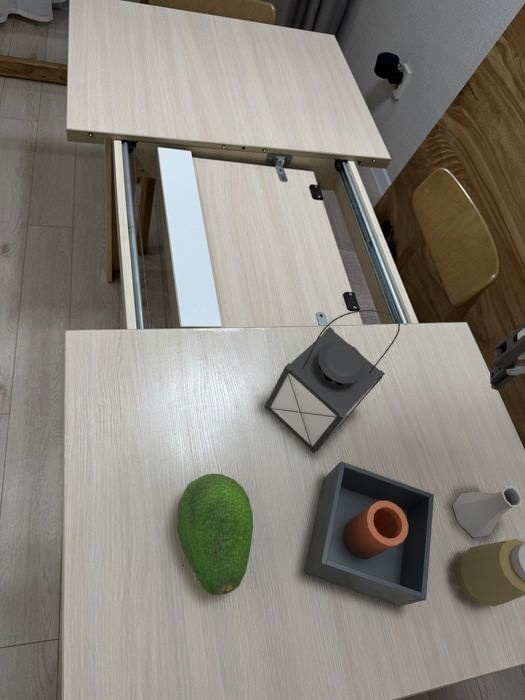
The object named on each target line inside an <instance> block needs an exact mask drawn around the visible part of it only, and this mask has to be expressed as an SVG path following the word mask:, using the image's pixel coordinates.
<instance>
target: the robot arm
mask: <svg viewBox="0 0 525 700" xmlns="http://www.w3.org/2000/svg"><path fill="white" fill-rule="evenodd" d="M522 360H525V321H524V322H523V323H522V324H521V325H519V326H518V327H517V328H516V329H514V330H513V331H511V332H510V333H509V334H508V335H507V336H506V337H504V338H503V339H502V340H500V341H499V342H498V343H497V344H496V345H494V366H495V367H494V368H493V369H492V370H490V373H489V384H490V388H491V389H492V390H495V391H500V390H501V389H502V388H504V387H505V386H506V385H507V384H509V383H510V382H511V381H513V380H514V379H515V378H516V376H517V375H523V374H524V375H525V362H524V363H523V362H522V363H519V361H522Z"/></svg>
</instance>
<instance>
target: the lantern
mask: <svg viewBox="0 0 525 700" xmlns="http://www.w3.org/2000/svg"><path fill="white" fill-rule="evenodd" d="M363 312H375V313H381V314H386V315H389V316H391V317H392V318H394V320H396V323H397V331H396V334H395V335H394V338H393V339H392V341H391V343H389V345H388V347H387V348H386V350H385V351H384V352H383V354H382V355H381V356H380V357H379V359H378V360H377V362H375V364H373V363H372V362H371V361H370V360H368V359H367V358H366V357H365V356H364V355H362V353H361V352H360V351H359V350H358V348H356V347H355V346H353V345H351V344H350V343H349V342H347V341H346V340H345V339H344V338H342V336H340V335H339V334H338V333H337V332H336V331H335V330H334V329H333V328H332V327H331V326H330V325H331V324H332V323H334V322H335V321H337V320H339V319H341V318H343V317H345V316H348V315H350V314H351V315H352V314H355V313H363ZM400 330H401V323H400V320H399V318H398V317H396V315H394V314H392V313H390V312H388V311H384V310H379V309H378V310H377V309H360V310H354V311H350V312H346V313H344V314H341V315H339V316H337V317H335V318H334V319H332V320H331V321H330V322H328V323H327V324H326V326H325V327H324V328H323V329H322V330H321V331H320V333H319V334H318V336H317V338H316V339H315V340H314V341H313V343H311V344H310V345H309V346H308V347H307V348H305V350H303V352H301V353H299V355H298V356H297V357H296V358H295V359H294V360H292V361H291V362H289V363H287V364H286V365H285V366H284V368H283V369H282V371H281V374H280V376H279V377H278V379H277V381H276V383H275V385H274V387H273V389H272V391H271V393H270V395H269V397H268V399H267V401H266V403H265V405H264V408H265V409H266V410H267V411H269V412H270V413H271V414H273V415H274V416H275V417H276V418H277V419H278V420H279V421H280V422H282V424H283V425H284V426H285V427H287V428H288V429H289V430H290V431H291V432H292V433H293V434H294V435H295V436H296V437H297V438H298V439H299V440H300V441H302V443H304V444H305V445H306V446H307V447H308V448H309V450H310V451H311V452H312V453H313V454H315V453H316V452H317V451H319V450H320V448H321V447H322V446H323V445H324V444H326V442H327V441H328V439H329V438H331V436H332V435H333V434H334V433H335V431H337V429H338V428H339V427H340V426H341V425H342V424H343V422H345V420H346V419H348V417H349V416H351V414H353V413H354V411H355V409H356V408H357V407H358V406H359V405H360V404H361V403H362V401H363V400H364V399H365V398H366V397H367V395H369V393H370V392H371V391H372V390H373V389H374V388H375V387H376V385H377V384H378V383H379V382H380V381H381V380H382V379H383V377H384V376H385V375H386V373H385V372H384V371H383V370H382V369H379V368H378V367H377V366H378V364H379V362H381V360H382V359H383V357H384V356H385V355H386V353H387V352H388V351H389V349H390V348H391V347H392V345H393V344H394V342H395V341H396V339H397V338H398V336H399V332H400Z"/></svg>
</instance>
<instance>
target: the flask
mask: <svg viewBox="0 0 525 700" xmlns="http://www.w3.org/2000/svg"><path fill="white" fill-rule="evenodd" d="M523 502H524V499H523V497H522V494H521V492H520V491H519V490H518V489H517V488H516V487H515V486H514V485H506V486H504V487H503V488H502V489H501V490H500V491H498V492H483V491H472V492H471V491H470V492H461V493H460V494H459V496H458V497H457V498H456V500H455V501H454V502H453V504H452V508H453V511H454V513H455V516H456V520H457V522H458V525H459V526H460V527H461V528H462V529H464V530H465V531H466V532H467V533H468V534H469V535H470V536H471V537H472V538H480V537H486V536H487V537H488V536H490V535H491V533H492V532H493V529H495V527H496V526H497V524H498V522H499V521H500V519H501V518H502V517H503V515H504V514H505V513H507V512H508V511H509V510H510V509H515V508H520V507H521V505H522V504H523Z"/></svg>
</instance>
